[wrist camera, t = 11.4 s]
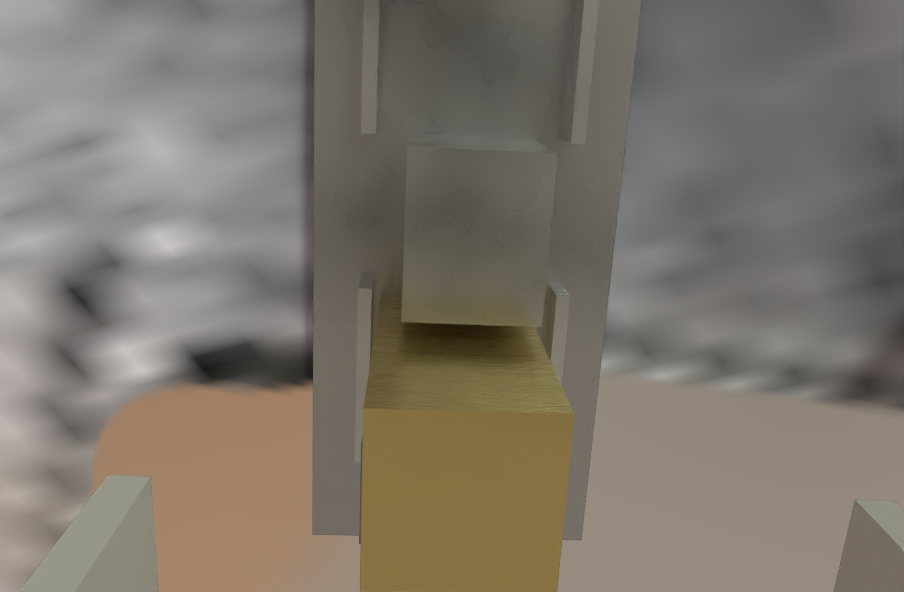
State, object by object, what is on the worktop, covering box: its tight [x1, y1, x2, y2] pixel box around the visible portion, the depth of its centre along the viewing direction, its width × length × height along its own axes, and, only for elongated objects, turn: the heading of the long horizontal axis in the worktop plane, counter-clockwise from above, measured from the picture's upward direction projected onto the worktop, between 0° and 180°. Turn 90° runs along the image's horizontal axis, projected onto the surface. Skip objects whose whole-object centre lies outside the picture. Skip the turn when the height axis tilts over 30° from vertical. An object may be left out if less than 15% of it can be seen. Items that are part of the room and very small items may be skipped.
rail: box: [313, 0, 641, 540], centre depth 22 cm, size 22×9×5 cm, turn 177°
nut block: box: [359, 299, 574, 592], centre depth 21 cm, size 4×4×8 cm
